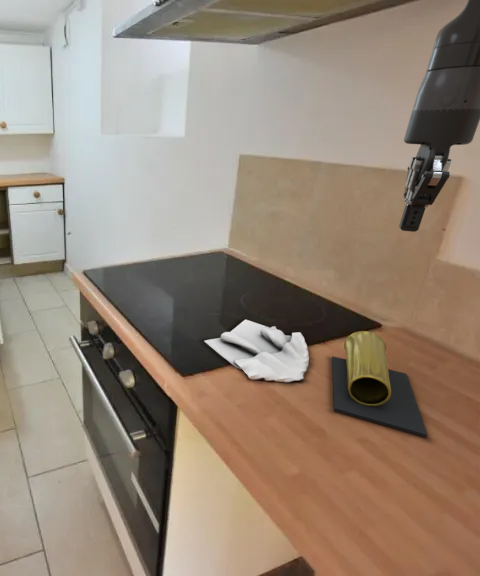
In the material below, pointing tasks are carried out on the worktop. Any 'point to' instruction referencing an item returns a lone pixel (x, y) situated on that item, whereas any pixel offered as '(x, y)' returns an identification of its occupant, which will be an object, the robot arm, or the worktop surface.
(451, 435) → the worktop surface
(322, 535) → the worktop surface
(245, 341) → the cloth
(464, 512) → the worktop surface
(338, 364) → the mat
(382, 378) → the vase
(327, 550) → the worktop surface
